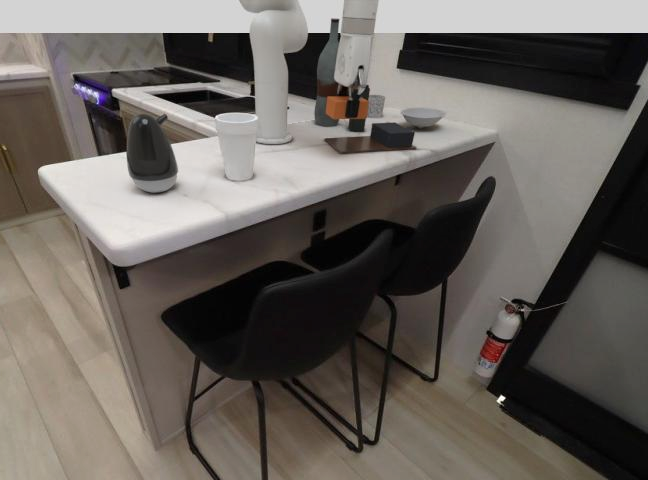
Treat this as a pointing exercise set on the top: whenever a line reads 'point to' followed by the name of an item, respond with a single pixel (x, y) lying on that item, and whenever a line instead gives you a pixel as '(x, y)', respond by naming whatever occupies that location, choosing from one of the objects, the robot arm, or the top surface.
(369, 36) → the robot arm
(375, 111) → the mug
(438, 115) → the dish
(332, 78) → the bottle
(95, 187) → the top surface
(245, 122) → the foam cup
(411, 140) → the back pad
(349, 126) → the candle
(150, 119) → the pump dispenser
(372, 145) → the board
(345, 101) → the loose pad
